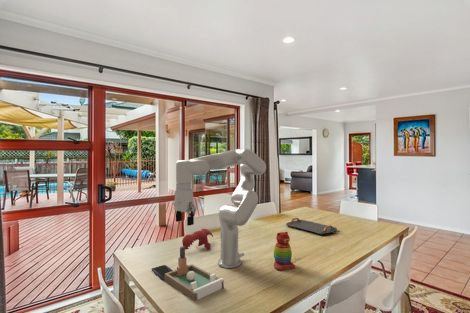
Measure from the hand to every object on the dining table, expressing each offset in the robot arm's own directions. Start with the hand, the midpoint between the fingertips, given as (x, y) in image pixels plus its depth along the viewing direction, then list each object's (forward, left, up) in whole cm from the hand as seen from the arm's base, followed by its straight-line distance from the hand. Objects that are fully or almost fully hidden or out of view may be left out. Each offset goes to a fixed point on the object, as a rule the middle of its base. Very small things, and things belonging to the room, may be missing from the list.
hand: (184, 223), depth 122 cm
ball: (-1, +4, -24) cm, 24 cm away
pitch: (-1, +5, -27) cm, 27 cm away
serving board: (-120, -3, -27) cm, 123 cm away
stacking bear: (-46, +23, -27) cm, 58 cm away
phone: (+3, -13, -27) cm, 30 cm away
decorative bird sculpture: (-31, -28, -27) cm, 49 cm away
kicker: (-1, -3, -25) cm, 25 cm away
